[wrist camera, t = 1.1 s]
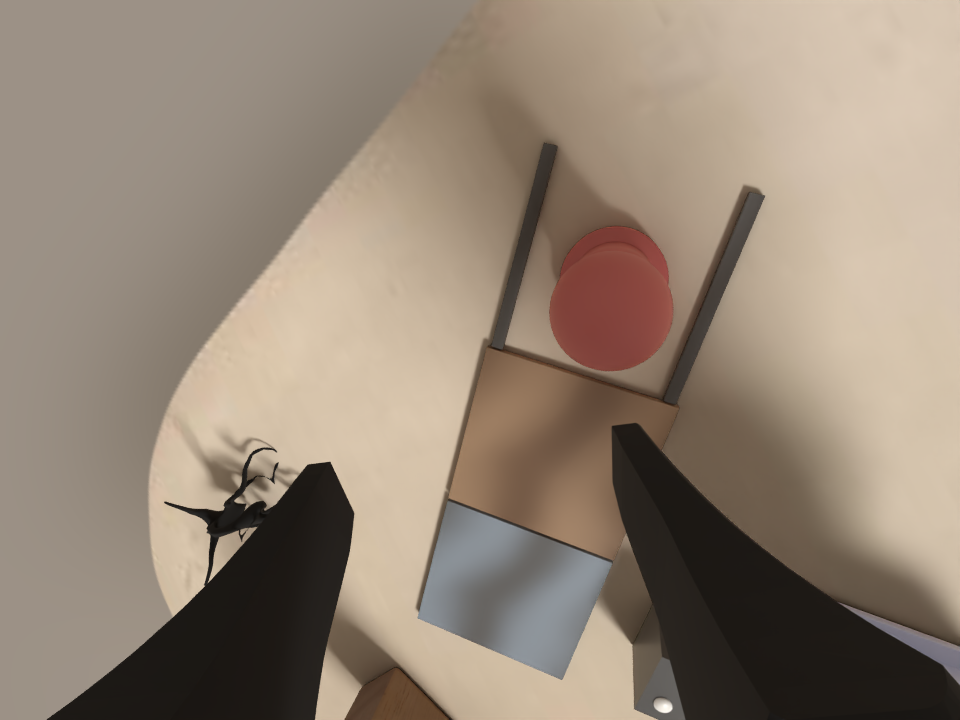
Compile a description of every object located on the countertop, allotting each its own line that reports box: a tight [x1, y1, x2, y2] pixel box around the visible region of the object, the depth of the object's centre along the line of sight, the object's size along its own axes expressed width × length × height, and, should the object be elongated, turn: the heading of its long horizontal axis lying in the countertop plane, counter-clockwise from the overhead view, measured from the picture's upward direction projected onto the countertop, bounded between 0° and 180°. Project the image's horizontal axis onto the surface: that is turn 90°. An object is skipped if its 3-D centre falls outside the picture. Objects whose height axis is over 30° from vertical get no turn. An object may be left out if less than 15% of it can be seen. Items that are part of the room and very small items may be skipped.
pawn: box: [549, 226, 673, 371], centre depth 19 cm, size 5×5×10 cm
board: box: [418, 143, 765, 680], centre depth 27 cm, size 10×30×1 cm, turn 167°
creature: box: [164, 448, 278, 586], centre depth 31 cm, size 8×5×8 cm
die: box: [633, 605, 685, 720], centre depth 27 cm, size 4×4×4 cm
